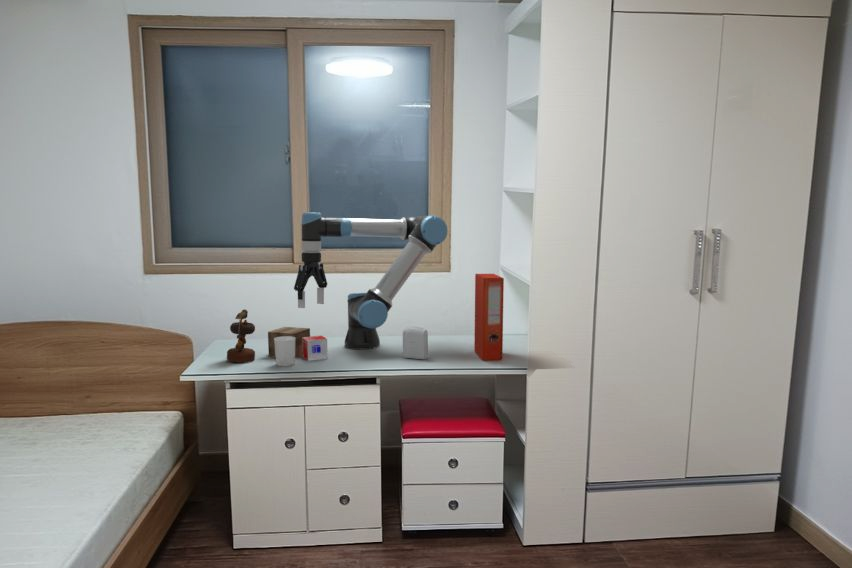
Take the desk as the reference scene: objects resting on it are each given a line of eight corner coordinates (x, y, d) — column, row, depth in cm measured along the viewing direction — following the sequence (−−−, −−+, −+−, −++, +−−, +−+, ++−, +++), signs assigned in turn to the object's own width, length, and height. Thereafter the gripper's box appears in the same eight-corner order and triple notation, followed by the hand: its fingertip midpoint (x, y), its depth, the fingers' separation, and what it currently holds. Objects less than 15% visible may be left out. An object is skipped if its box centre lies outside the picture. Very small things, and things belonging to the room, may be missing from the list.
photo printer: (401, 358, 251) (401, 327, 250) (406, 355, 255) (405, 325, 254) (425, 360, 247) (424, 328, 246) (429, 358, 251) (429, 327, 250)
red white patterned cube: (322, 354, 258) (321, 335, 258) (327, 358, 251) (327, 338, 250) (302, 356, 255) (302, 337, 254) (307, 360, 248) (307, 340, 247)
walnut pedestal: (310, 352, 262) (309, 328, 261) (294, 358, 251) (293, 333, 250) (285, 350, 267) (284, 326, 265) (268, 356, 255) (267, 331, 254)
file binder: (493, 350, 263) (494, 273, 260) (503, 360, 246) (503, 277, 243) (474, 351, 262) (474, 273, 259) (482, 361, 245) (482, 278, 242)
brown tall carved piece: (255, 363, 244) (254, 311, 242) (225, 365, 241) (223, 312, 239) (256, 354, 258) (254, 306, 256) (228, 356, 256) (226, 307, 254)
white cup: (276, 362, 246) (275, 336, 245) (297, 361, 247) (296, 336, 245) (273, 367, 238) (272, 340, 237) (294, 366, 239) (294, 340, 238)
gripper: (320, 250, 263) (319, 301, 265) (284, 252, 240) (284, 308, 242) (336, 251, 260) (335, 302, 262) (301, 253, 237) (301, 310, 239)
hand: (311, 305), depth 252 cm, fingers open, 13 cm apart
